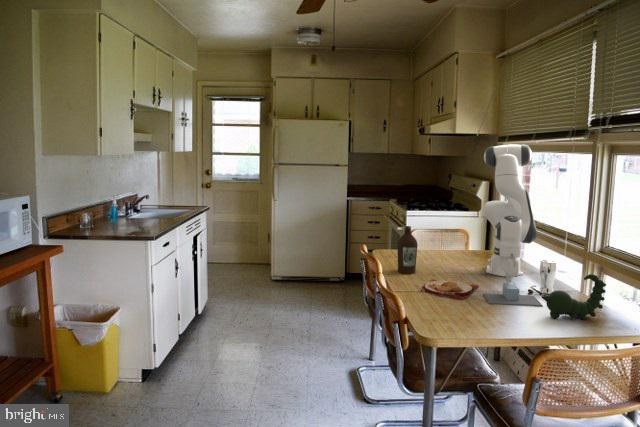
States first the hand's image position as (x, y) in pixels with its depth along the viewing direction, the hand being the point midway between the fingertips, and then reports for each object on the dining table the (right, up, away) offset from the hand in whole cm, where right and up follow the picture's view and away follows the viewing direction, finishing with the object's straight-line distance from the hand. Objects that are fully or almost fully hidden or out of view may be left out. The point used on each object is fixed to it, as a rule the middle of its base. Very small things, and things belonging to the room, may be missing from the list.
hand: (508, 281), depth 228 cm
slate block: (0, -3, 0) cm, 3 cm away
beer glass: (+20, -6, +5) cm, 21 cm away
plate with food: (-26, -6, +8) cm, 28 cm away
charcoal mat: (-1, -7, -8) cm, 10 cm away
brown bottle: (-39, -1, +41) cm, 57 cm away
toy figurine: (+14, -11, -30) cm, 34 cm away
